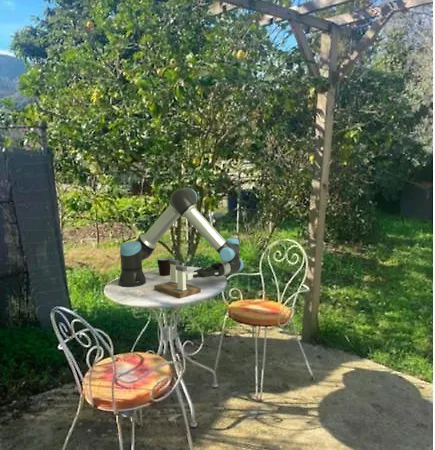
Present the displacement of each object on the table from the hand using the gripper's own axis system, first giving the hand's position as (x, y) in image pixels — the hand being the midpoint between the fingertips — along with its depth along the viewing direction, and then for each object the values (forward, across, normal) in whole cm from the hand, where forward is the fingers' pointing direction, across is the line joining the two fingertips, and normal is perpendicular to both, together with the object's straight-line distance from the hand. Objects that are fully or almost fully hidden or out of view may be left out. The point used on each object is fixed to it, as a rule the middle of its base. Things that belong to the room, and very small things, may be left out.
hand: (187, 277), depth 229 cm
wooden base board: (+1, +7, -9) cm, 11 cm away
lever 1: (-3, +14, -6) cm, 16 cm away
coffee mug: (-16, +42, -9) cm, 46 cm away
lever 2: (+4, 0, -6) cm, 7 cm away
